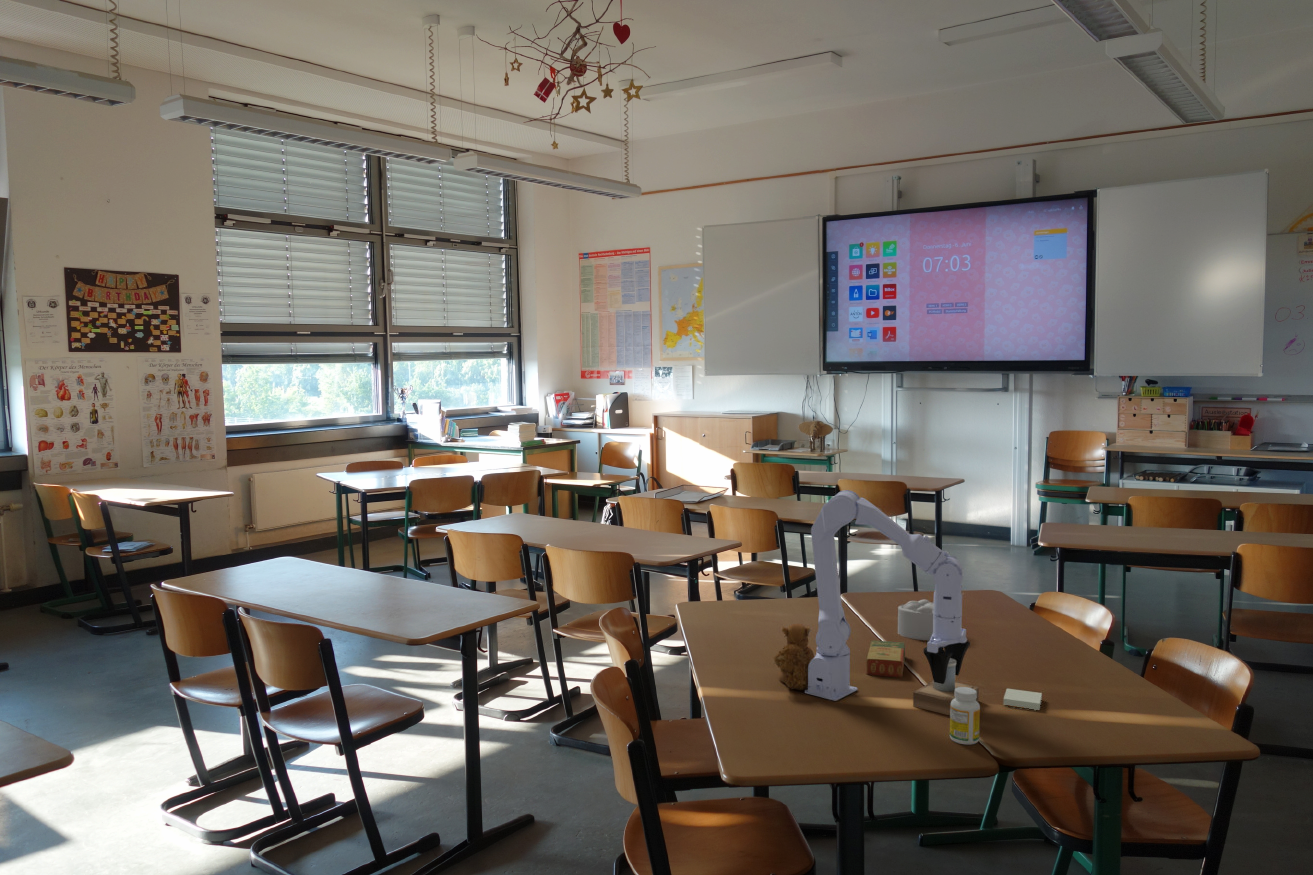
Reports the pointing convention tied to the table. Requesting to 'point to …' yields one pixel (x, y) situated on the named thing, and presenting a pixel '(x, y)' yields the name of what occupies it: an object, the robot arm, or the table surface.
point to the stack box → (937, 698)
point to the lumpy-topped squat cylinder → (916, 620)
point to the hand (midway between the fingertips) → (946, 678)
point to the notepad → (1023, 699)
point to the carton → (886, 658)
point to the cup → (947, 678)
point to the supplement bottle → (964, 716)
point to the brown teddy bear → (795, 657)
